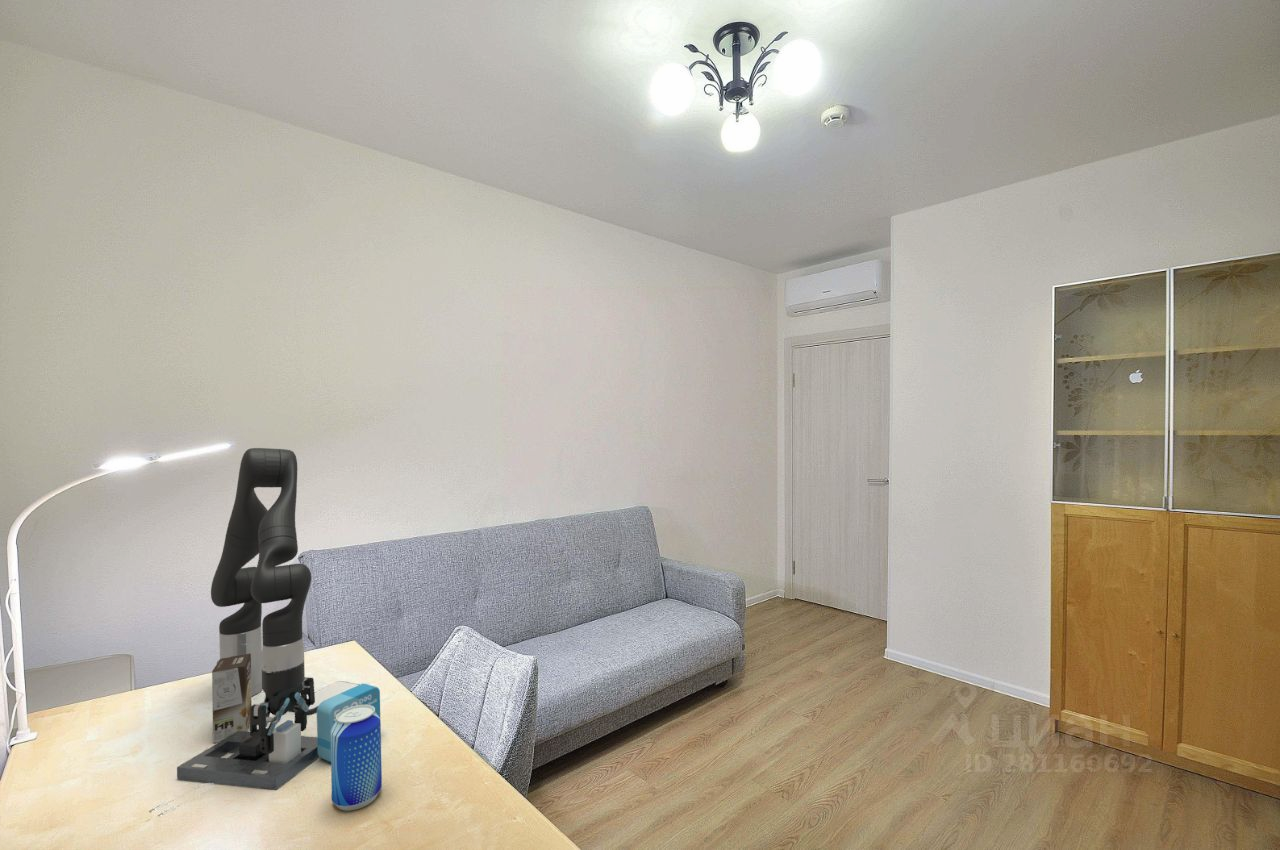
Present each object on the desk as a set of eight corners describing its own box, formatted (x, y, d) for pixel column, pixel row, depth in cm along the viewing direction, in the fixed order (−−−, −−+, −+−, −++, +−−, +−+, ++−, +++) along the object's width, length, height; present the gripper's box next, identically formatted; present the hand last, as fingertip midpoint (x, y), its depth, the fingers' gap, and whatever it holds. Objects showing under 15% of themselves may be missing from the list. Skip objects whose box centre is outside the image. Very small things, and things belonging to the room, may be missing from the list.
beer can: (369, 779, 112) (367, 698, 113) (390, 795, 107) (388, 710, 107) (324, 801, 106) (322, 715, 106) (344, 820, 101) (342, 729, 101)
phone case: (338, 686, 157) (284, 712, 142) (338, 680, 157) (284, 705, 142) (363, 690, 154) (309, 717, 139) (363, 684, 154) (309, 710, 139)
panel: (177, 779, 114) (176, 754, 114) (238, 741, 128) (238, 719, 128) (276, 790, 110) (276, 764, 110) (328, 749, 124) (328, 726, 124)
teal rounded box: (330, 766, 117) (329, 708, 117) (317, 760, 119) (316, 703, 120) (381, 738, 128) (380, 684, 128) (368, 733, 130) (367, 680, 130)
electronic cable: (148, 812, 105) (148, 810, 105) (208, 782, 113) (208, 779, 113) (159, 818, 103) (159, 815, 103) (219, 787, 112) (219, 784, 112)
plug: (269, 771, 116) (268, 728, 116) (284, 760, 120) (283, 718, 120) (286, 773, 115) (285, 729, 115) (301, 761, 119) (300, 719, 119)
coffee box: (246, 736, 130) (245, 666, 130) (212, 744, 127) (211, 672, 127) (252, 718, 138) (251, 652, 138) (220, 725, 135) (219, 657, 135)
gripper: (294, 648, 125) (295, 722, 125) (237, 676, 111) (239, 759, 111) (324, 650, 124) (325, 724, 124) (270, 678, 110) (272, 762, 110)
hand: (284, 741), depth 117 cm, fingers open, 8 cm apart
